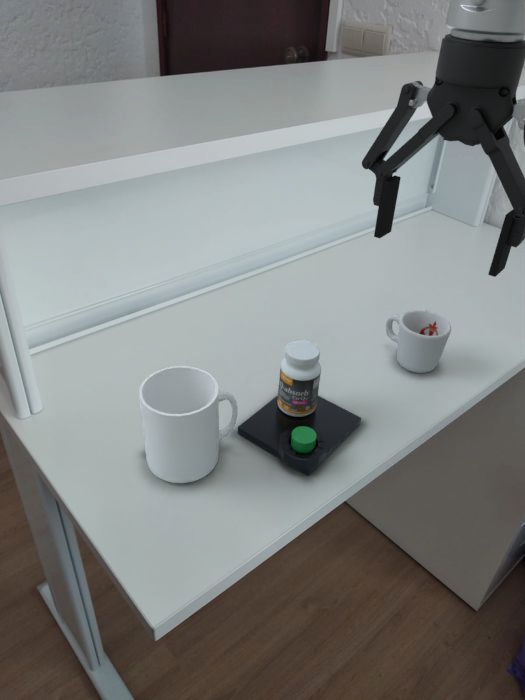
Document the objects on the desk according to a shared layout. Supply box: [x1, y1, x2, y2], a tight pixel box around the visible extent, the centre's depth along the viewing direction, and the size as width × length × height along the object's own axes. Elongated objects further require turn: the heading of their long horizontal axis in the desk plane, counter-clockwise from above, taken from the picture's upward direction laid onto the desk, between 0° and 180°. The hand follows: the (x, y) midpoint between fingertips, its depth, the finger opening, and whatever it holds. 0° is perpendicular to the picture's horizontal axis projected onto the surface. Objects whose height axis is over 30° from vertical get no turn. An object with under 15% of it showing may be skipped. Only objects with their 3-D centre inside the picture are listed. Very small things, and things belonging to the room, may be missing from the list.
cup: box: [385, 309, 452, 374], centre depth 94 cm, size 11×8×8 cm
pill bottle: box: [277, 339, 322, 417], centre depth 81 cm, size 6×6×10 cm
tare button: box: [291, 426, 317, 453], centre depth 75 cm, size 3×3×2 cm
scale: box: [237, 395, 362, 477], centre depth 80 cm, size 12×14×3 cm
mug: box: [138, 365, 238, 484], centre depth 73 cm, size 10×12×12 cm
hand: (436, 252), depth 64 cm, fingers open, 13 cm apart
